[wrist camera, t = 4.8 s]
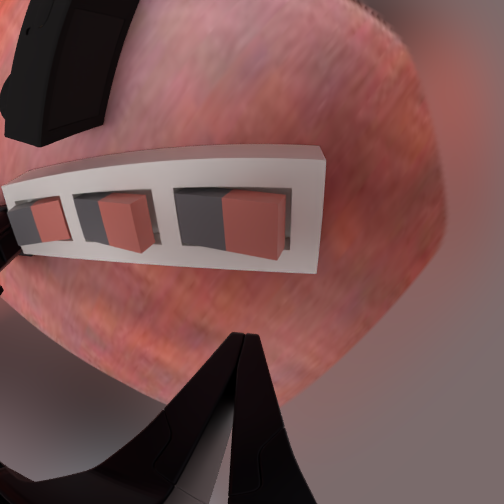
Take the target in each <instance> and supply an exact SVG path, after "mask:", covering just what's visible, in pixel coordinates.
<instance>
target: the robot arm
mask: <svg viewBox="0 0 504 504" xmlns="http://www.w3.org/2000/svg"><path fill="white" fill-rule="evenodd" d="M7 212H8V208H7V205H4V206H0V272H1V271H2V270H3V269H4V268H5V267H6V266H7V265H8V264H9V263H10V262H11V261H12V260H13V259H14V258H15V257H16V256H18V255H23V256H33V255H32V254H24V253H23V250H22V248H21V246H19V245H18V243H17V240H16V237H15V235H14V232H13V229H12V226H11V223H10V220H9V217H8V214H7ZM3 291H4V290H3V288H2V286H0V295H1V294H2V292H3ZM164 410H165V411H164ZM164 410H162V411H161V412H160V414H158V415H157V417H156V418H155V419H154V420H153V421H152V422H151V423H150V424H149V425H148V426H147V427H146V428H145V429H144V430H142V431H141V432H140V433H139V434H138V435H137V436H136V437H134V438H133V439H132V440H131V441H130V442H128V443H127V444H126V445H125V446H123V447H122V448H121V449H119V450H118V451H117V452H116V453H114V454H113V455H112V456H110V457H109V458H108V459H106V460H105V461H104V462H102V463H101V464H100V465H98V466H96V467H94V468H92V469H89V470H87V471H84V472H80V473H76V474H72V475H68V476H63V477H59V478H54V479H49V480H44V481H38V482H34V481H32V480H30V479H28V478H27V477H25V476H23V475H21V474H19V473H18V472H16V471H14V470H12V469H10V468H8V467H7V466H6V465H4V464H3V463H2V462H0V504H209V501H210V498H211V495H212V492H213V488H214V485H215V482H216V479H217V476H218V472H219V469H220V466H221V463H222V459H223V456H224V453H225V449H226V446H227V442H228V439H229V436H230V432H231V429H232V444H231V461H230V476H229V493H228V496H229V498H228V504H317V503H316V501H315V499H314V496H313V494H312V492H311V490H310V489H309V487H308V484H307V483H306V480H305V478H304V477H303V474H302V472H301V470H300V468H299V466H298V463H297V461H296V459H295V456H294V454H293V451H292V448H291V446H290V442H289V439H288V436H287V432H286V429H285V428H284V422H283V419H282V416H281V412H280V408H279V405H278V401H277V398H276V394H275V391H274V387H273V383H272V380H271V376H270V373H269V369H268V366H267V362H266V358H265V355H264V351H263V347H262V344H261V340H260V337H259V335H258V334H250V333H247V334H246V335H245V334H244V333H238V332H232V333H231V334H230V335H229V336H228V337H227V338H226V339H225V341H224V342H223V343H222V344H221V345H220V346H219V348H218V349H217V350H216V351H215V352H214V353H213V354H212V356H211V357H210V358H209V359H208V360H207V361H206V362H205V364H204V365H203V366H202V367H201V368H200V369H199V370H198V372H197V373H196V374H195V375H194V376H193V377H192V378H191V379H190V380H189V382H188V383H187V384H186V385H185V386H184V387H183V388H182V389H181V390H180V392H179V393H178V394H177V395H176V396H175V397H174V398H173V399H172V400H171V401H170V403H169V404H168V405H167V406H166V407H165V408H164ZM232 426H233V428H232Z"/></svg>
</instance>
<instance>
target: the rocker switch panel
mask: <svg viewBox="0 0 504 504" xmlns="http://www.w3.org/2000/svg"><path fill="white" fill-rule="evenodd" d="M325 172H326V159H325V157H324V155H323V152H322V150H321V148H320V146H315V145H292V144H224V145H201V146H185V147H172V148H161V149H151V150H142V151H133V152H125V153H118V154H111V155H104V156H98V157H92V158H86V159H81V160H75V161H70V162H65V163H60V164H56V165H51V166H47V167H42V168H38V169H34V170H30V171H28V172H26V173H24V174H22V175H20V176H19V177H17V178H15V179H13V180H11V181H10V182H8V183H6V184H5V185H3V186H1V187H2V191H3V194H4V198H5V201H6V205H7V208H8V211H9V210H10V209H12V208H13V207H14V206H15V205H19V204H23V203H27V202H31V201H35V200H39V199H43V198H47V197H52V196H60V199H61V203H62V206H63V210H64V213H65V217H66V220H67V223H68V227H69V230H70V233H71V236H72V237H71V238H70V239H65V240H57V241H50V242H43V243H36V244H30V245H23V246H21V248H22V250H23V253H24V254H32V255H42V256H53V257H64V258H76V259H87V260H100V261H112V262H125V263H138V264H152V265H166V266H181V267H197V268H213V269H230V270H248V271H267V272H287V273H309V274H316V273H317V264H318V255H319V246H320V236H321V226H322V214H323V202H324V188H325ZM185 187H216V188H227V189H238V190H248V191H257V192H266V193H275V194H283V195H286V211H285V248H284V249H283V251H282V253H281V255H280V257H279V258H278V260H277V261H276V260H271V259H266V258H260V257H255V256H250V255H244V254H239V253H234V252H229V251H223V250H218V249H213V248H208V247H202V246H197V245H192V244H187V243H182V238H181V232H180V226H179V219H178V213H177V206H176V200H175V193H176V192H178V191H180V190H181V189H183V188H185ZM91 192H111V193H126V194H140V195H146V199H147V204H148V210H149V215H150V220H151V225H152V230H153V234H154V239H155V243H154V244H153V245H151V246H150V247H149V248H148V249H147V250H145V251H144V252H143V253H142V254H141V253H137V252H133V251H129V250H125V249H121V248H117V247H113V246H109V245H105V244H101V243H97V242H93V241H90V240H86V239H85V238H84V235H83V232H82V229H81V225H80V222H79V219H78V215H77V211H76V208H75V204H74V200H73V199H74V198H76V197H78V196H79V195H81V194H83V193H91Z"/></svg>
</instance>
